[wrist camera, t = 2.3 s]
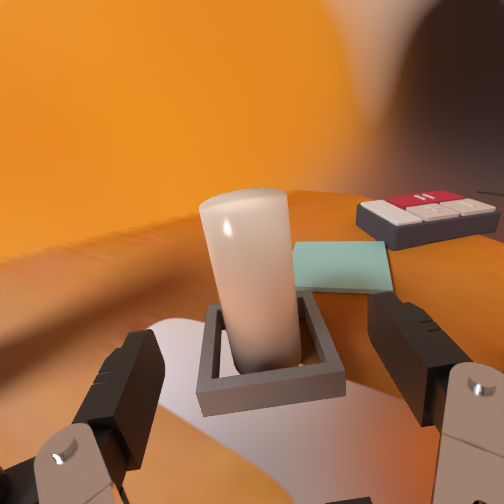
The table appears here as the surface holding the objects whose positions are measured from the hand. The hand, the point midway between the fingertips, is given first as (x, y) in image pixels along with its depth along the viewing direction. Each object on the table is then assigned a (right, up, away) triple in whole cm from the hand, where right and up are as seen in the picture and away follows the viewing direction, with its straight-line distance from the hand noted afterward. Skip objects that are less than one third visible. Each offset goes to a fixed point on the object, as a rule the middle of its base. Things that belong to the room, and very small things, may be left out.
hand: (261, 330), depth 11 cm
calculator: (+25, +6, +34) cm, 43 cm away
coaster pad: (+10, +1, +27) cm, 29 cm away
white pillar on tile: (+1, -6, +16) cm, 17 cm away
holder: (+1, -6, +15) cm, 17 cm away
